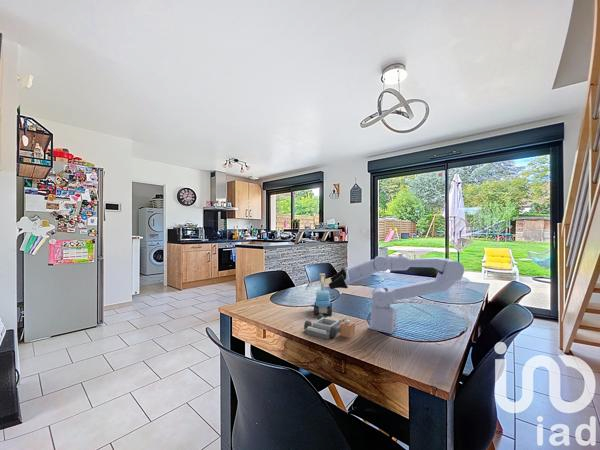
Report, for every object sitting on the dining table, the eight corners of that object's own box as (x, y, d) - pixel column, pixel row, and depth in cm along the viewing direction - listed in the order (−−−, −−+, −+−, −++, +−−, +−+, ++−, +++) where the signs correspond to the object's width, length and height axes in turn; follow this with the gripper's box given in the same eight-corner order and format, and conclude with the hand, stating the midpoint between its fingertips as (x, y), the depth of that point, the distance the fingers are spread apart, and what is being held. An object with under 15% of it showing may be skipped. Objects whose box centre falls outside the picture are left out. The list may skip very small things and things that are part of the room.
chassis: (349, 326, 105) (349, 317, 106) (330, 340, 92) (330, 330, 92) (322, 320, 113) (322, 312, 113) (302, 332, 99) (302, 322, 99)
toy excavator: (331, 306, 134) (331, 273, 134) (332, 316, 118) (332, 279, 118) (314, 305, 135) (315, 272, 135) (313, 316, 118) (313, 278, 119)
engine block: (354, 334, 98) (354, 320, 98) (350, 338, 94) (350, 323, 95) (344, 332, 100) (344, 318, 100) (340, 335, 97) (340, 321, 97)
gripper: (356, 258, 114) (328, 269, 117) (356, 267, 100) (324, 280, 103) (363, 272, 114) (335, 283, 117) (363, 284, 100) (331, 296, 103)
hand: (330, 283), depth 110 cm, fingers open, 7 cm apart
